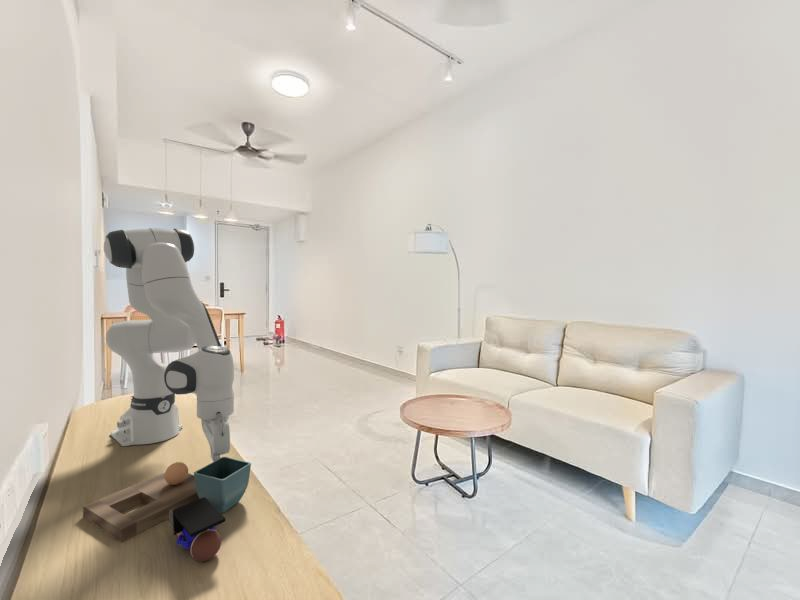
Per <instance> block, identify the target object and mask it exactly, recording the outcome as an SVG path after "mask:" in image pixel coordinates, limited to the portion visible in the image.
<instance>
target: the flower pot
mask: <svg viewBox="0 0 800 600" xmlns="http://www.w3.org/2000/svg"><path fill="white" fill-rule="evenodd" d="M251 467H252V463H251V462H249V461H244V460H240V459H235V458H231V457H228V456H222V457H220V459H218V460H216V461H213V462H209V464H207V465H205V466H204V467H202V468H199V469H197V470H196V471H194V472H193V475H194V478H195V484H196V490H197V494H198V497H199V499H201V498H204V497H205V498H206V499H207V500H208V501H209V502H210V503H211V504H212V505H213V506H214V507H215V508H216V509H217V510H218V511H219V512H220V513H221V514H222V513H225V512H227V511H228V510H230V509H231V508H232V507H234V506H235V505H237V504H238V503H239V502H240V501H241V499H242V498H243V496H244V495H245V493H246V491H247V487H248V485H249V480H250V473H251Z"/></svg>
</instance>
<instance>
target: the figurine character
mask: <svg viewBox="0 0 800 600" xmlns="http://www.w3.org/2000/svg"><path fill="white" fill-rule="evenodd" d="M226 521H227V519H226V517H225V516H224V515H223V514H222V512H219V511H218V510H217V509H216V508H215V507H214V506H213V505H212V504H211V503H210V502H209V501H208V500H207V499H206V498H205V497H204V498H201V499H199V500H196V501H194V502H191V503H189V504H186V505H184V506H181V507H179V508H175V509H172V510H170V511H169V518H168V522H169V524H170V528H172V530H173V536H177V540H176V545H178V546H183V547H184V548H185V549H190V555H191V557H192V558H193V559H194V560H195V561H197V562H207V561H209V560H212V558H213V557H215V556H216V554H218V553H219V550H220V548H221V546H222V536H221V535H220V533H219V532H218V531H217V530H215V529H216V527H217V526H219V525H221V524H223V523H225V522H226Z"/></svg>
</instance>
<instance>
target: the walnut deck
mask: <svg viewBox="0 0 800 600" xmlns="http://www.w3.org/2000/svg"><path fill="white" fill-rule="evenodd" d="M164 475H165V472H162V473H160V474H158V475H155V476H153V477H150V478H148V479H146V480H143V481H140V482H137V483H136V484H132V485H131V486H128V487H126V488H123V489H121V490H119V491H116V492H113V493H111V494H109V495H106V496H104V497H101V498H99V499H96V500H94V501H91V502H90V503H86V504H84V505H82V517H83V518H84V520H87V521H88V522H90V523H91V524H93V526H96V527H97V528H98V529H100V530H102V531H103V532H105V533H106V534H108V536H109V535H110V536H111V537H113V538H114V539H115V540H117V541H119V542H120V543H122V542H124V541H127V540H128V539H131V538H132V537H134V536H136V535H139V534H140V533H143V532H144V531H146V530H147V529H150V528H151V527H154V526H155V525H158V524H160V523H161V522H164V521H165V520H167V519H169V511H170V510H172V509H175V508H179V507H181V506H184V505H186V504H189V503H191V502H194V501H196V500H199V497H198V494H197V490H196V484H195V478H194V474H191V473H190V472H188V475H187V477H186V479H185V480H184V481H183V482H182V483H180V484H177V485H171V484H169V483H167V482H166V480H165V477H164ZM139 504H143V506H141V507H138V508H136V509H135V510H132V511H130V512H128V513H126V514H123V513H121V512H123V511H124V512H125V510H129V509H131V508H133V507H135V506H137V505H139Z"/></svg>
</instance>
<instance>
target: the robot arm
mask: <svg viewBox="0 0 800 600" xmlns="http://www.w3.org/2000/svg"><path fill="white" fill-rule="evenodd" d="M193 240H194V239H193V237H192V235H191V234H190V233H189V232H188V231H187V230H185V229H179V228H161V227H159V228H158V227H149V228H137V229H136V228H135V229H126V230H124V229H118V230H114V231H113V230H112V231H110V232H108V233H107V234H106V235H105V240H104V242H103V252H104V254H105V256H106V259H107V260H108V261H109V263H110V264H111V265H113V266H115V267H116V268H117V267H118V268H124V269H125V272H126V273H125V274H126V285H127V286H126V287H127V295H128V303H129V305H130V306H131V307H132V309H134V310H135V311H136V312H138V313H141V314H142V315H143V314H144V315H145V316H147V317H148V318H149V319H142V320H141V319H138V320H137V319H136V320H135V319H132V320H131V319H130V320H126V321H125V320H124V321H119V322H115V323H113V324H112V325H111V326H110V327H109V328H108V330H107V332H106V333H105V343H106V345H107V347H108V349H110V351H111V352H113V353H115V354H117V355H118V356H120V357H121V358H122V359H123V360H124V361H125V363H126V364H127V365H128V366H129V369H130V371H131V376H132V382H133V383H132V384H133V385H132V386H133V395H132V396H130V405H129V406H130V407H129V408H128V409H127V410H126V411H125V412H124V413H122V414H121V415H120V417H119V420H118V421H116V427H117V428H116V429H115V428H114V429H113V430H111V431H110V436H111V437H112V438H113V439H114V440H115V441H116V442H117V443H118V444H119V445H120V446H122V447H128V446H137V445H150V444H151V445H152V444H155V443H161V442H164V441H167V440H169V439H172V438H174V437H176V436H177V435H178V434H179V432H180V430H182V429H183V428H184V426H183V424H182V423H180V413H179V407H178V405H177V404H175V402H176V395H178V396H179V395H188V394H196V417H197V418H198V419H200V421H201V427H202V428H201V429H202V432H203V434H204V436H205V438H206V440H207V443H208V444H209V449H210V458H211V460H212V461H213V462H214V461H216V460H218V459H220V458H221V456H222V455H226V454H229V453H230V450H231V433H230V431H231V430H230V425H229V421H228V420H229V419H230V417H229V416H232V415H233V413H234V411H235V410H234V405H235V401H234V399H235V397H234V396H235V392H234V390H233V383H234V380H235V368H234V358H233V355H232V352H231V350H230V349H228V348H227V347H224V346H222V345H221V342H220V340H219V337H218V334H217V331H216V329H215V326H214V324H213V320H212V318H211V316H210V313H209V311H208V309H207V306H206V305H205V304H204V303H203V301H202V300H200V298H199V297H198V295H197V293H196V291H195V289H194V287H193V285H192V281H191V276H190V273H189V269H188V267H187V264H186V263H187V262H190V260H191V259H193V257H194V255H195V243H194V241H193ZM195 345H196V346H197V349H198V350H197V351H196V352H194V353H193V354H190V355H188V356H184V357H181V358H178V359H175V360H172V361H170V363H168V365H167V364H166V363H164V362H160V361H158V359H156V357H155V356H154V354H163V353H165V354H167V353H178V352H183V351H189V350H191V349H192V348H193V347H194V346H195ZM182 427H183V428H182ZM181 428H182V429H181Z"/></svg>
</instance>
